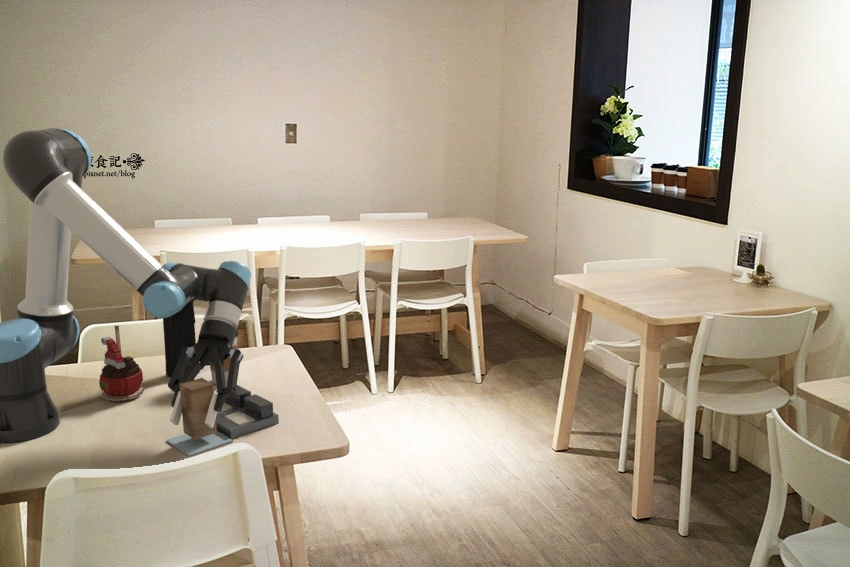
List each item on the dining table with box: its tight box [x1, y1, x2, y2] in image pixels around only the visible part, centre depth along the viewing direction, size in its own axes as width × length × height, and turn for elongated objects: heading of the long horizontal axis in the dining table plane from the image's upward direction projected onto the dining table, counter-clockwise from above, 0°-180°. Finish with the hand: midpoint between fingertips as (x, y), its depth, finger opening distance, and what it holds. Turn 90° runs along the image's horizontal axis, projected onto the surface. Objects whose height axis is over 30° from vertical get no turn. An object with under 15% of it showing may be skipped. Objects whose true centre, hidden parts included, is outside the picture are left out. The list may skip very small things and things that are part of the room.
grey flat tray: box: [216, 384, 280, 440], centre depth 174 cm, size 17×12×5 cm
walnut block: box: [180, 377, 217, 440], centre depth 161 cm, size 5×5×11 cm
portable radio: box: [162, 299, 197, 378], centre depth 199 cm, size 8×6×25 cm
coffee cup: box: [209, 328, 239, 386], centre depth 195 cm, size 8×8×15 cm
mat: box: [166, 431, 234, 458], centre depth 163 cm, size 10×10×1 cm
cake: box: [98, 324, 145, 402], centre depth 185 cm, size 11×9×18 cm
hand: (191, 424), depth 158 cm, fingers closed on walnut block, 7 cm apart
